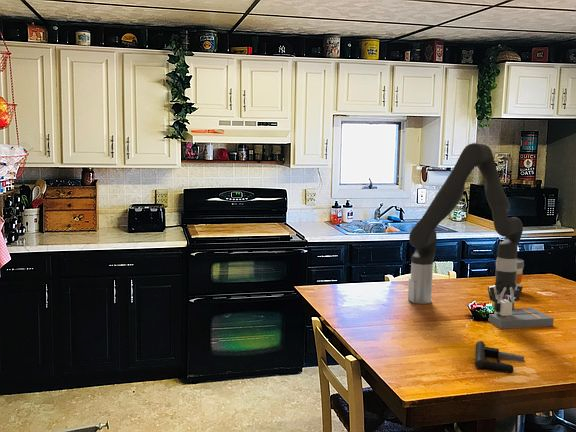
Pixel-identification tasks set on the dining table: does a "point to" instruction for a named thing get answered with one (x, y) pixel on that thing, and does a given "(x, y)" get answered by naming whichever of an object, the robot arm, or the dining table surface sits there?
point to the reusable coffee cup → (519, 271)
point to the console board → (521, 319)
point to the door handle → (494, 353)
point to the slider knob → (505, 307)
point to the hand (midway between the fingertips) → (503, 311)
